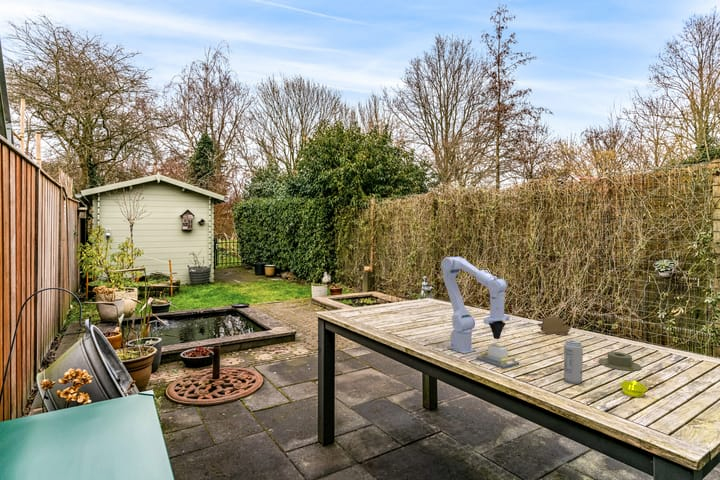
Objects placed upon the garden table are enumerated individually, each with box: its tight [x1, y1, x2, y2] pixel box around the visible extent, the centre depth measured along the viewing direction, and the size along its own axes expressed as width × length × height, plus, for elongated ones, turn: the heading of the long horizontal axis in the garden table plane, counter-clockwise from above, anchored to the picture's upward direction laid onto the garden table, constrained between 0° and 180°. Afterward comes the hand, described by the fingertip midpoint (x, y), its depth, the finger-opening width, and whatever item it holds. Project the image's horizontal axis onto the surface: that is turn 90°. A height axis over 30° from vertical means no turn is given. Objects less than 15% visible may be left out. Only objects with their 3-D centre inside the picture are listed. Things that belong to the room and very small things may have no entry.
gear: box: [619, 379, 648, 398], centre depth 134 cm, size 8×4×8 cm
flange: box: [598, 351, 642, 372], centre depth 163 cm, size 5×15×15 cm
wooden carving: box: [537, 315, 572, 335], centre depth 212 cm, size 16×5×10 cm, turn 80°
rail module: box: [487, 343, 509, 360], centre depth 166 cm, size 7×4×5 cm, turn 32°
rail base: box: [476, 351, 520, 370], centre depth 166 cm, size 14×10×3 cm
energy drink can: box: [563, 338, 584, 385], centre depth 145 cm, size 6×6×15 cm
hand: (496, 338), depth 168 cm, fingers closed
